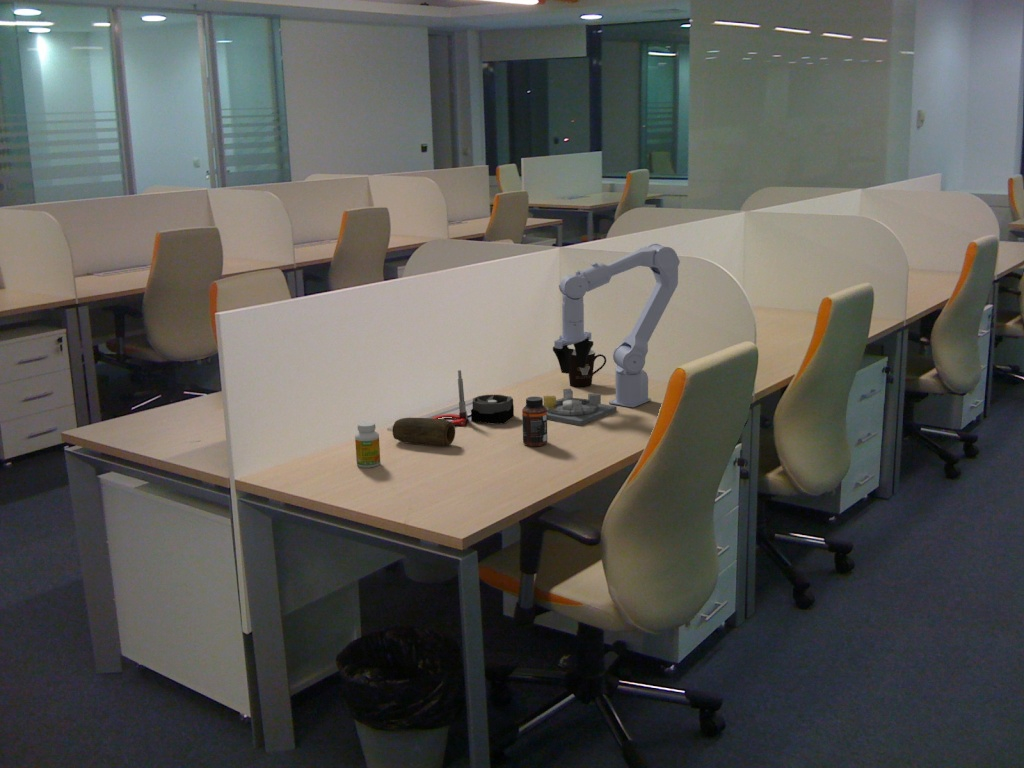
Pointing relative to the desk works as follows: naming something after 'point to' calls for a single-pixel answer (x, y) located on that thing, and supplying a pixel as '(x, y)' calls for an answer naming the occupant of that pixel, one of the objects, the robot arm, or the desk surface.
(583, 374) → the coffee mug
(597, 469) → the desk surface
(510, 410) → the cpu cooler
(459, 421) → the tow hook
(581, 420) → the cap plate
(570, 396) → the ring nut
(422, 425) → the brown hollow cylinder
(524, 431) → the supplement bottle
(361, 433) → the supplement bottle
